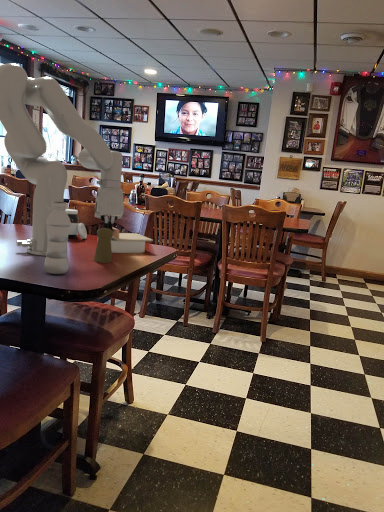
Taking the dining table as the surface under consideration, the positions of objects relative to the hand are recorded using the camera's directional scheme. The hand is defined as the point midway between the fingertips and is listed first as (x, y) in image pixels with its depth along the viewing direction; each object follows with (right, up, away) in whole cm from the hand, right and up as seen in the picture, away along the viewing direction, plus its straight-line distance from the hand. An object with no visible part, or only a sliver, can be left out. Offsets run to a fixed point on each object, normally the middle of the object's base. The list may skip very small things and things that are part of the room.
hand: (107, 233), depth 153 cm
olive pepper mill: (+2, -11, -19) cm, 22 cm away
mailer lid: (+7, -1, +5) cm, 9 cm away
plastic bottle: (-6, -14, -41) cm, 44 cm away
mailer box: (+4, -6, +4) cm, 8 cm away
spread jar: (-19, -1, +18) cm, 26 cm away
